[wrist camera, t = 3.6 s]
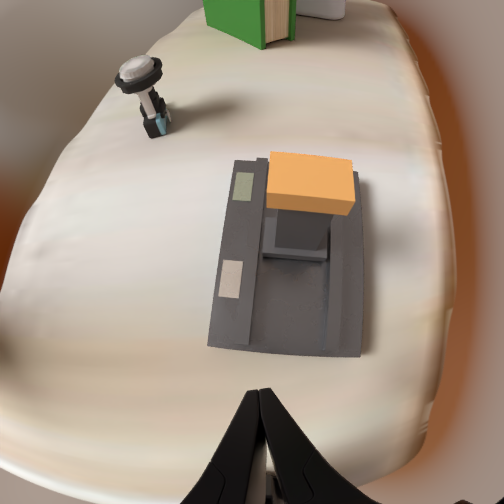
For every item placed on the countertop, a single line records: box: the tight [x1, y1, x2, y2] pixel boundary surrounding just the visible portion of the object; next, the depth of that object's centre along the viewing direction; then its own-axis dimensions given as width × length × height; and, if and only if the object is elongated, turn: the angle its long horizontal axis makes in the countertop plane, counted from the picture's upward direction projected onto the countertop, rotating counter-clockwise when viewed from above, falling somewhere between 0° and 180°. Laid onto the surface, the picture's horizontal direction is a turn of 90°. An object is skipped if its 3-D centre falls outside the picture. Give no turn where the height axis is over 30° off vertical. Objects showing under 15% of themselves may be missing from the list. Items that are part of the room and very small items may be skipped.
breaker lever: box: [262, 151, 355, 262], centre depth 18 cm, size 3×5×10 cm, turn 84°
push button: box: [115, 55, 171, 138], centre depth 26 cm, size 7×5×10 cm
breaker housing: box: [207, 158, 364, 357], centre depth 23 cm, size 17×12×3 cm
